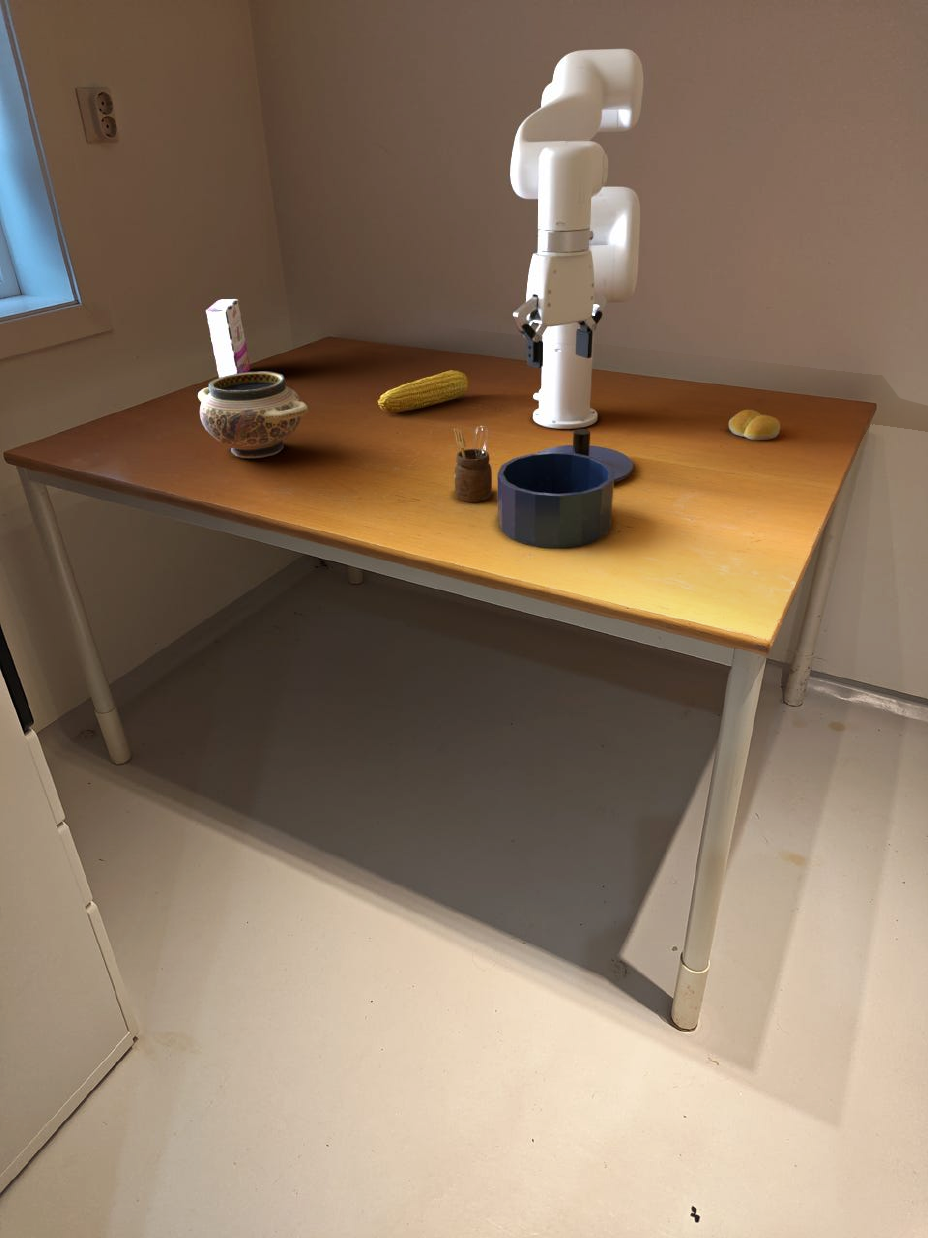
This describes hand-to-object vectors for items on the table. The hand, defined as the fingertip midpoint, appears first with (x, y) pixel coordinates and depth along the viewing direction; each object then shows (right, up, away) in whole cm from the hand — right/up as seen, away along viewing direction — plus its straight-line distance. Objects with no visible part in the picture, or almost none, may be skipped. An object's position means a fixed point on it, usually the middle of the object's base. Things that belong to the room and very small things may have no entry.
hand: (559, 361), depth 131 cm
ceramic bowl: (-53, -9, +24) cm, 59 cm away
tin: (-1, -26, -5) cm, 27 cm away
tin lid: (+5, -14, +12) cm, 19 cm away
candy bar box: (-69, +17, +67) cm, 97 cm away
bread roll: (+39, -6, +25) cm, 47 cm away
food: (-23, +4, +44) cm, 50 cm away
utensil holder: (-13, -21, +4) cm, 25 cm away
